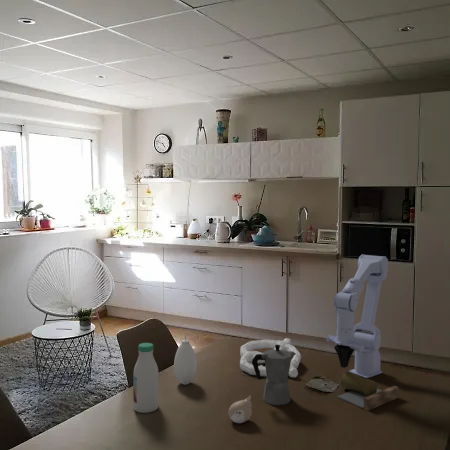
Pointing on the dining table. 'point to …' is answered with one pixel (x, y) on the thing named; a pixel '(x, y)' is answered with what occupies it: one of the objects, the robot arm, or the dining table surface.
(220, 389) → the dining table surface
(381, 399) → the stop rail
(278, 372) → the coffeepot
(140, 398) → the milk bottle
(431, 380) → the dining table surface
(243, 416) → the garlic bulb
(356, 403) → the mat
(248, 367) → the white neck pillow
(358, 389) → the cork
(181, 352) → the sauce bottle
